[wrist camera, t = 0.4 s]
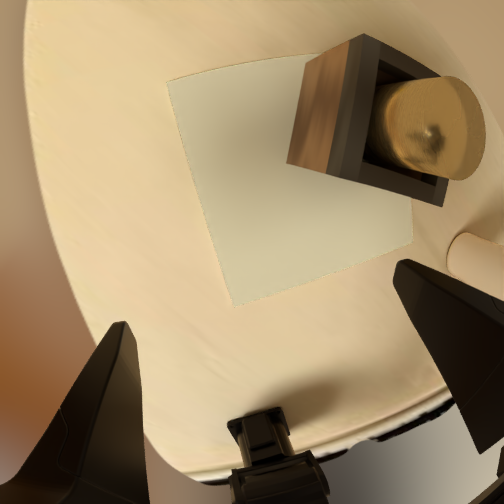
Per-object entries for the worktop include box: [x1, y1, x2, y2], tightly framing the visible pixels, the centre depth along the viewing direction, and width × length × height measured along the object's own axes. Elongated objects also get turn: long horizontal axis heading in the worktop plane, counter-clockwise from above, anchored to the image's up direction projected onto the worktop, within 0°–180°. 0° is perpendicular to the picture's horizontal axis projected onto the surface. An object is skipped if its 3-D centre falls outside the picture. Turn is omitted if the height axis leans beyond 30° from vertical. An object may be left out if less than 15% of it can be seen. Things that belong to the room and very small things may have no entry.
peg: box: [362, 76, 486, 180], centre depth 14 cm, size 5×5×8 cm
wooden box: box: [286, 34, 449, 207], centre depth 18 cm, size 8×8×8 cm
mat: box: [166, 53, 413, 308], centre depth 22 cm, size 18×18×1 cm
